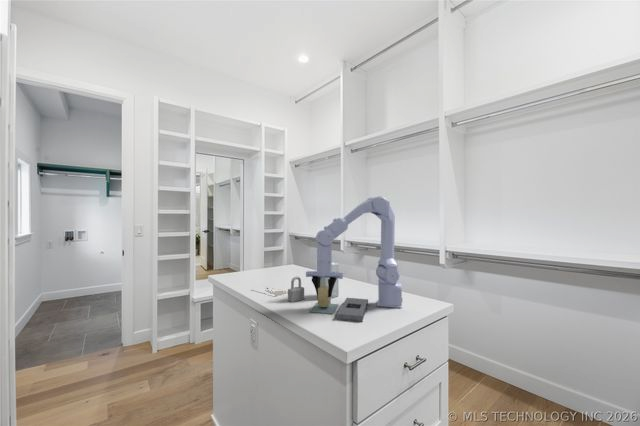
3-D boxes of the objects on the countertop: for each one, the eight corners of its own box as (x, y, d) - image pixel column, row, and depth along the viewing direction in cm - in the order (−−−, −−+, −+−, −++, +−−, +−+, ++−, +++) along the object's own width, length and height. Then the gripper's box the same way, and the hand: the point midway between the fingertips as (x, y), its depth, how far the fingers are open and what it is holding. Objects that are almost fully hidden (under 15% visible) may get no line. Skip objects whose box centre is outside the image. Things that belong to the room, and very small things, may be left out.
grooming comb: (290, 292, 134) (290, 291, 134) (274, 297, 127) (274, 296, 127) (265, 286, 146) (265, 285, 146) (249, 291, 138) (249, 289, 138)
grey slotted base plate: (368, 304, 116) (368, 299, 116) (362, 321, 97) (362, 316, 97) (346, 302, 118) (346, 297, 119) (336, 319, 99) (336, 313, 99)
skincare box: (330, 293, 132) (330, 261, 132) (339, 296, 127) (339, 263, 127) (316, 297, 126) (316, 263, 127) (325, 300, 122) (325, 265, 122)
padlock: (299, 297, 126) (299, 274, 126) (305, 299, 124) (305, 276, 124) (286, 300, 121) (286, 277, 121) (293, 302, 118) (293, 278, 118)
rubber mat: (338, 305, 115) (338, 304, 115) (332, 314, 104) (332, 313, 104) (317, 303, 117) (317, 302, 117) (308, 312, 107) (308, 311, 107)
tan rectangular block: (330, 304, 112) (330, 286, 112) (328, 307, 108) (328, 288, 108) (320, 303, 113) (320, 285, 113) (317, 306, 109) (317, 288, 109)
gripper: (303, 262, 109) (303, 297, 109) (340, 263, 105) (340, 300, 105) (308, 259, 116) (308, 292, 116) (344, 260, 112) (344, 295, 112)
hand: (324, 296), depth 111 cm, fingers closed on tan rectangular block, 4 cm apart
